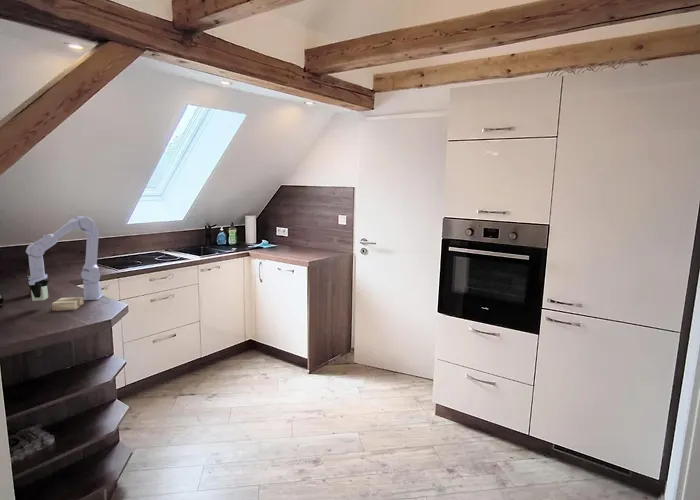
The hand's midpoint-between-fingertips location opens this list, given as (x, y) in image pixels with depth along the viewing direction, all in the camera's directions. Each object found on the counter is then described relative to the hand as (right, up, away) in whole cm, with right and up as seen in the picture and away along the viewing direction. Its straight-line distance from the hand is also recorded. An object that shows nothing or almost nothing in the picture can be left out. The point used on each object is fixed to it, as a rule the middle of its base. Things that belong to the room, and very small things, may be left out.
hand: (40, 295), depth 213 cm
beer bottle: (-20, -2, +26) cm, 33 cm away
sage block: (0, -2, 0) cm, 2 cm away
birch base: (+12, -6, +4) cm, 14 cm away
